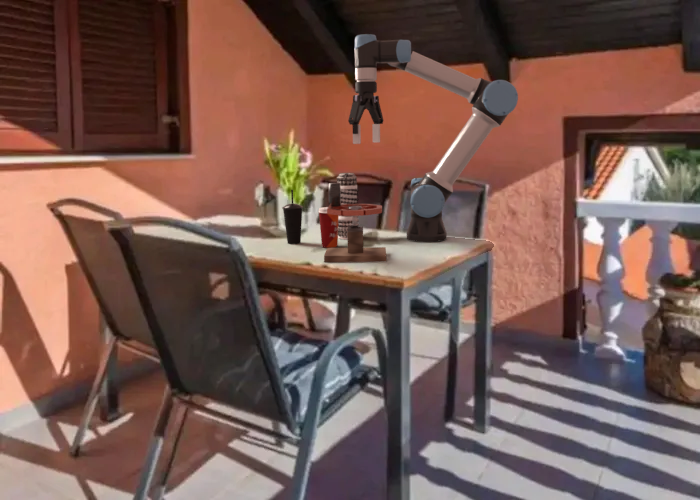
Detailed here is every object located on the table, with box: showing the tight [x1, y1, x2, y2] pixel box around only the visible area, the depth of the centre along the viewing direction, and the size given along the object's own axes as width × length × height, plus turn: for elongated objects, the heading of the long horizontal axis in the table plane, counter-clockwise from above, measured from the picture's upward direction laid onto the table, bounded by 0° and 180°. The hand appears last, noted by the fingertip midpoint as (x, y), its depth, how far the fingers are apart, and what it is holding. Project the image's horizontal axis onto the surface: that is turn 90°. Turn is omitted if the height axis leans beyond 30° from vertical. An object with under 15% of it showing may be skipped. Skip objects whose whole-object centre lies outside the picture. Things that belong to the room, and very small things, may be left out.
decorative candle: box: [336, 172, 360, 241], centre depth 259 cm, size 9×9×25 cm
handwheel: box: [327, 182, 383, 228], centre depth 219 cm, size 18×18×15 cm
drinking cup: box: [281, 189, 304, 245], centre depth 250 cm, size 8×8×20 cm
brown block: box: [323, 225, 387, 263], centre depth 222 cm, size 20×14×10 cm
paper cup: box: [318, 206, 339, 249], centre depth 242 cm, size 8×8×14 cm
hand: (366, 143), depth 237 cm, fingers open, 13 cm apart
